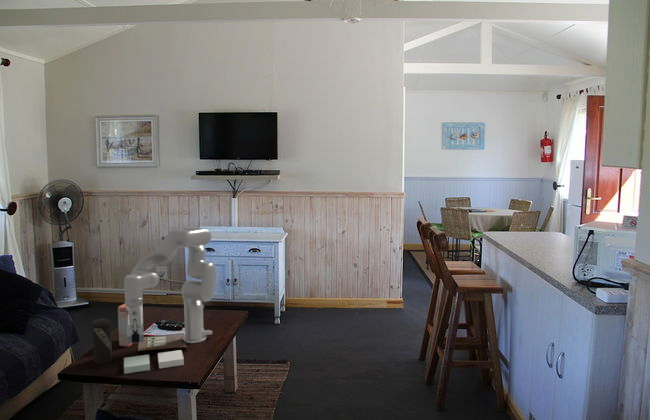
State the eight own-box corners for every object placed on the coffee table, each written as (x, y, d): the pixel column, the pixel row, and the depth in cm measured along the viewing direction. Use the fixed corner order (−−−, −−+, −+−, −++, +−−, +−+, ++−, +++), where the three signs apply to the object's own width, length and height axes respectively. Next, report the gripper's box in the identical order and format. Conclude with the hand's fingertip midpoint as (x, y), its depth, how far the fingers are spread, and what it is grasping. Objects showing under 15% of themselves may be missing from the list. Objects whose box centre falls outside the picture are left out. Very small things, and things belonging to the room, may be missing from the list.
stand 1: (149, 360, 239) (148, 354, 238) (150, 370, 229) (149, 363, 228) (124, 363, 235) (124, 357, 234) (124, 373, 225) (123, 367, 224)
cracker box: (129, 347, 254) (127, 307, 251) (118, 346, 255) (116, 306, 252) (144, 337, 268) (142, 299, 265) (134, 336, 269) (132, 298, 266)
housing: (143, 337, 234) (142, 321, 233) (143, 341, 229) (143, 325, 228) (127, 339, 231) (126, 322, 230) (127, 343, 226) (126, 326, 225)
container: (100, 366, 232) (98, 325, 230) (89, 361, 237) (86, 321, 234) (117, 359, 239) (114, 319, 237) (105, 355, 244) (103, 316, 242)
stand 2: (181, 355, 244) (181, 349, 244) (183, 364, 234) (183, 358, 234) (157, 359, 240) (157, 353, 240) (159, 368, 230) (158, 362, 230)
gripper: (143, 306, 221) (144, 345, 223) (142, 295, 237) (143, 332, 239) (125, 308, 218) (126, 347, 221) (125, 297, 234) (126, 334, 236)
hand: (135, 339), depth 230 cm, fingers closed on housing, 5 cm apart
